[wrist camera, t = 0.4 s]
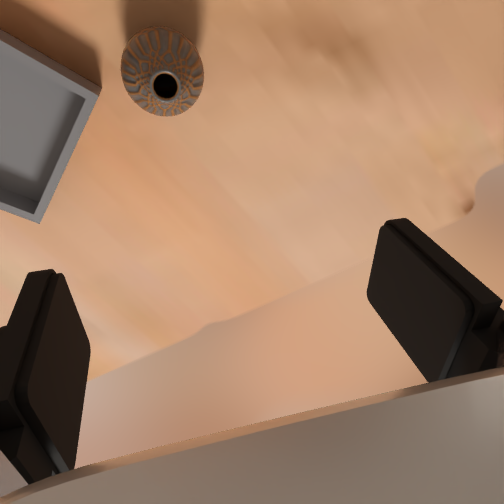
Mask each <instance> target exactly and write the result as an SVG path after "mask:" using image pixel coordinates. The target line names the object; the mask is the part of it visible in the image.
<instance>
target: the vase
mask: <svg viewBox="0 0 504 504" xmlns="http://www.w3.org/2000/svg"><path fill="white" fill-rule="evenodd" d="M121 76H122V80H123V83H124V86H125V88H126V90H127V92H128V94H129V95H130V97H131V98H132V99H133V101H134V102H135V103H136V104H137V105H139V106H140V107H141V108H142V109H144V110H146V111H147V112H149V113H152V114H154V115H158V116H175V115H178V114H181V113H183V112H185V111H186V110H188V109H189V108H190V107H191V106H192V105H193V104H194V103H195V102H196V100H197V99H198V97H199V95H200V93H201V90H202V87H203V81H204V70H203V65H202V61H201V58H200V56H199V53H198V52H197V50H196V48H195V47H194V45H193V44H192V43H191V42H190V41H189V40H188V39H187V38H186V37H185V36H184V35H183V34H181V33H180V32H178V31H176V30H174V29H171V28H168V27H162V26H154V27H149V28H145V29H143V30H141V31H139V32H138V33H136V34H135V35H134V36H133V37H132V38H131V39H130V40H129V42H128V43H127V45H126V47H125V49H124V51H123V54H122V59H121Z"/></svg>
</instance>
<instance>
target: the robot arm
mask: <svg viewBox="0 0 504 504" xmlns="http://www.w3.org/2000/svg"><path fill="white" fill-rule="evenodd" d="M367 297H368V300H369V302H370V304H371V305H372V306H373V308H374V309H375V310H376V312H377V313H378V315H379V316H380V317H381V319H382V320H383V321H384V323H385V324H386V325H387V327H388V328H389V330H390V331H391V332H392V334H393V335H394V336H395V338H396V339H397V340H398V342H399V343H400V345H401V346H402V347H403V349H404V350H405V351H406V353H407V354H408V356H409V357H410V358H411V360H412V361H413V362H414V364H415V365H416V366H417V368H418V369H419V371H420V372H421V373H422V374H423V376H424V377H425V379H426V380H427V381H428V382H429V383H426V384H421V385H417V386H413V387H409V388H404V389H400V390H395V391H391V392H387V393H382V394H378V395H374V396H369V397H365V398H361V399H356V400H353V401H348V402H344V403H339V404H335V405H331V406H327V407H323V408H318V409H314V410H310V411H306V412H302V413H297V414H293V415H289V416H285V417H280V418H276V419H272V420H268V421H263V422H259V423H255V424H251V425H247V426H243V427H238V428H234V429H230V430H226V431H222V432H218V433H214V434H210V435H205V436H202V437H197V438H194V439H189V440H185V441H181V442H177V443H173V444H169V445H164V446H160V447H156V448H152V449H148V450H144V451H140V452H137V453H133V454H129V455H125V456H121V457H118V458H113V459H110V460H106V461H102V462H98V463H94V464H90V465H87V466H83V467H80V468H77V469H74V466H75V461H76V454H77V447H78V440H79V432H80V425H81V417H82V411H83V403H84V396H85V389H86V382H87V375H88V368H89V361H90V343H89V340H88V337H87V335H86V332H85V329H84V327H83V324H82V321H81V319H80V316H79V314H78V311H77V308H76V306H75V303H74V301H73V298H72V295H71V293H70V290H69V287H68V285H67V282H66V280H65V277H64V275H63V274H62V273H58V274H56V272H55V271H54V270H53V269H48V270H41V271H35V272H29V273H28V274H27V276H26V279H25V281H24V284H23V286H22V289H21V291H20V294H19V296H18V299H17V301H16V304H15V306H14V309H13V311H12V314H11V316H10V319H9V321H8V324H7V326H2V327H1V328H0V504H504V310H503V309H502V308H500V305H501V303H502V299H500V298H499V297H498V296H497V295H496V294H495V293H493V292H492V291H491V290H490V289H489V288H488V287H486V286H485V285H484V284H483V283H482V282H481V281H479V280H478V279H477V278H476V277H475V276H474V275H472V274H471V273H470V272H469V271H468V270H466V269H465V268H464V267H463V266H462V265H461V264H460V263H458V262H457V261H456V260H455V259H454V258H453V257H451V256H450V255H449V254H448V253H447V252H446V251H444V250H443V249H442V248H441V247H440V246H439V245H437V244H436V243H435V242H434V241H433V240H432V239H431V238H429V237H428V236H427V235H426V234H425V233H424V232H422V231H421V230H420V229H419V228H418V227H417V226H415V225H414V224H413V223H412V222H411V221H410V220H408V219H407V218H401V219H394V220H388V221H386V222H385V224H384V226H381V228H380V230H379V235H378V240H377V244H376V249H375V254H374V259H373V264H372V269H371V273H370V278H369V284H368V288H367Z"/></svg>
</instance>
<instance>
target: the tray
mask: <svg viewBox="0 0 504 504" xmlns="http://www.w3.org/2000/svg"><path fill="white" fill-rule="evenodd" d="M101 89H102V88H101V87H99V86H98V85H96V84H94V83H92V82H91V81H89V80H87V79H85V78H84V77H82V76H80V75H79V74H77V73H75V72H73V71H72V70H70V69H68V68H66V67H65V66H63V65H61V64H60V63H58V62H56V61H54V60H53V59H51V58H49V57H47V56H46V55H44V54H42V53H41V52H39V51H37V50H35V49H34V48H32V47H30V46H28V45H27V44H25V43H23V42H22V41H20V40H18V39H16V38H15V37H13V36H11V35H10V34H8V33H6V32H4V31H3V30H1V29H0V209H1V210H4V211H6V212H9V213H12V214H14V215H17V216H20V217H22V218H25V219H28V220H30V221H33V222H36V223H38V224H40V222H41V220H42V218H43V215H44V213H45V211H46V209H47V207H48V205H49V202H50V200H51V198H52V196H53V194H54V192H55V190H56V187H57V185H58V183H59V181H60V179H61V177H62V174H63V172H64V170H65V168H66V166H67V164H68V161H69V159H70V157H71V155H72V153H73V151H74V148H75V146H76V144H77V142H78V140H79V138H80V135H81V133H82V131H83V129H84V127H85V125H86V122H87V120H88V118H89V116H90V114H91V112H92V109H93V107H94V105H95V103H96V101H97V99H98V96H99V94H100V92H101Z"/></svg>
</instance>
